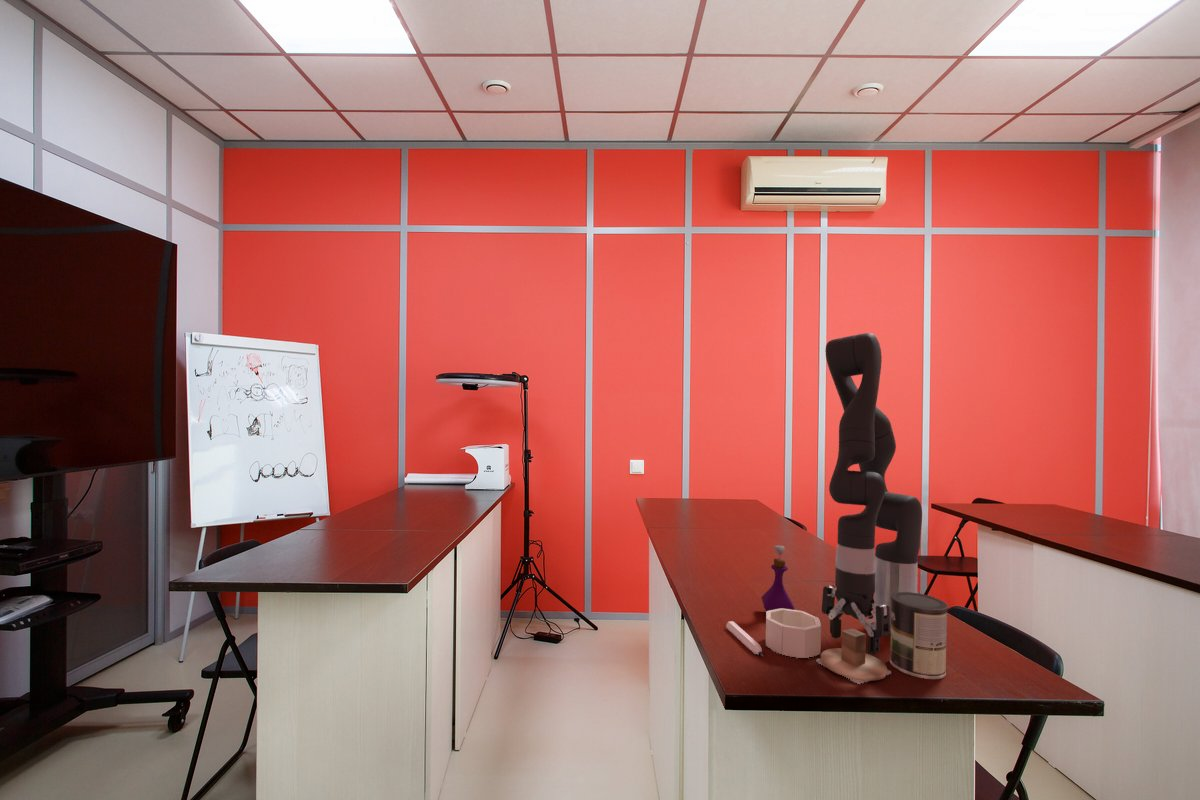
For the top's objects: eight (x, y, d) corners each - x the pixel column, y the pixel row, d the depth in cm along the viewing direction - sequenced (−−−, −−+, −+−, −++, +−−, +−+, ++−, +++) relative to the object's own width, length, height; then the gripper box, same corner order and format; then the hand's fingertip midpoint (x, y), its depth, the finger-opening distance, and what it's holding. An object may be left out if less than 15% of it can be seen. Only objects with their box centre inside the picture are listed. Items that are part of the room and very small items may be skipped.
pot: (790, 633, 128) (791, 606, 129) (830, 652, 118) (831, 623, 118) (754, 641, 123) (755, 613, 123) (793, 662, 113) (794, 632, 113)
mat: (848, 653, 118) (848, 650, 118) (891, 674, 109) (891, 671, 109) (816, 662, 114) (816, 659, 114) (858, 684, 105) (858, 681, 105)
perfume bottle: (794, 623, 135) (796, 550, 135) (763, 619, 136) (765, 548, 136) (790, 612, 142) (792, 543, 142) (761, 609, 144) (762, 541, 144)
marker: (762, 664, 114) (729, 632, 130) (770, 658, 115) (736, 627, 130) (757, 654, 114) (724, 623, 130) (765, 648, 114) (731, 618, 130)
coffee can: (884, 668, 112) (886, 600, 112) (895, 651, 120) (896, 588, 120) (942, 685, 105) (944, 613, 106) (949, 667, 113) (951, 599, 114)
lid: (847, 647, 120) (847, 617, 120) (900, 672, 109) (901, 639, 109) (807, 658, 114) (808, 626, 114) (860, 686, 103) (860, 650, 103)
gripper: (899, 574, 107) (897, 656, 107) (838, 556, 120) (836, 629, 120) (875, 579, 104) (873, 663, 104) (814, 559, 116) (812, 635, 116)
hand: (853, 645), depth 112 cm, fingers open, 8 cm apart
